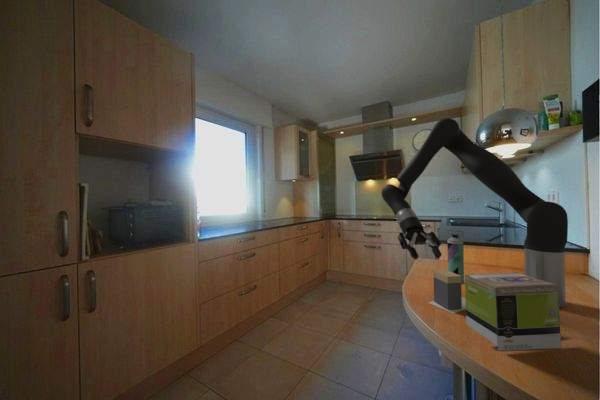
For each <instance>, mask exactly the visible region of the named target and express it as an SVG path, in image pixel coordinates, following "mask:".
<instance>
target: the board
mask: <svg viewBox="0 0 600 400" xmlns="http://www.w3.org/2000/svg"><path fill="white" fill-rule="evenodd" d="M461 297H462V309H457V310H447V309H445V308H444V307H442V306H440V305H439V304H437V303H436V302H434V300H432V301H429V302H427V304H430V305H433V306H435V307H437V308H439V309H442V310H445V311H447V312H450V313H452V314H456V313H459V312H462V311H464V310H466V297H463V296H461Z"/></svg>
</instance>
